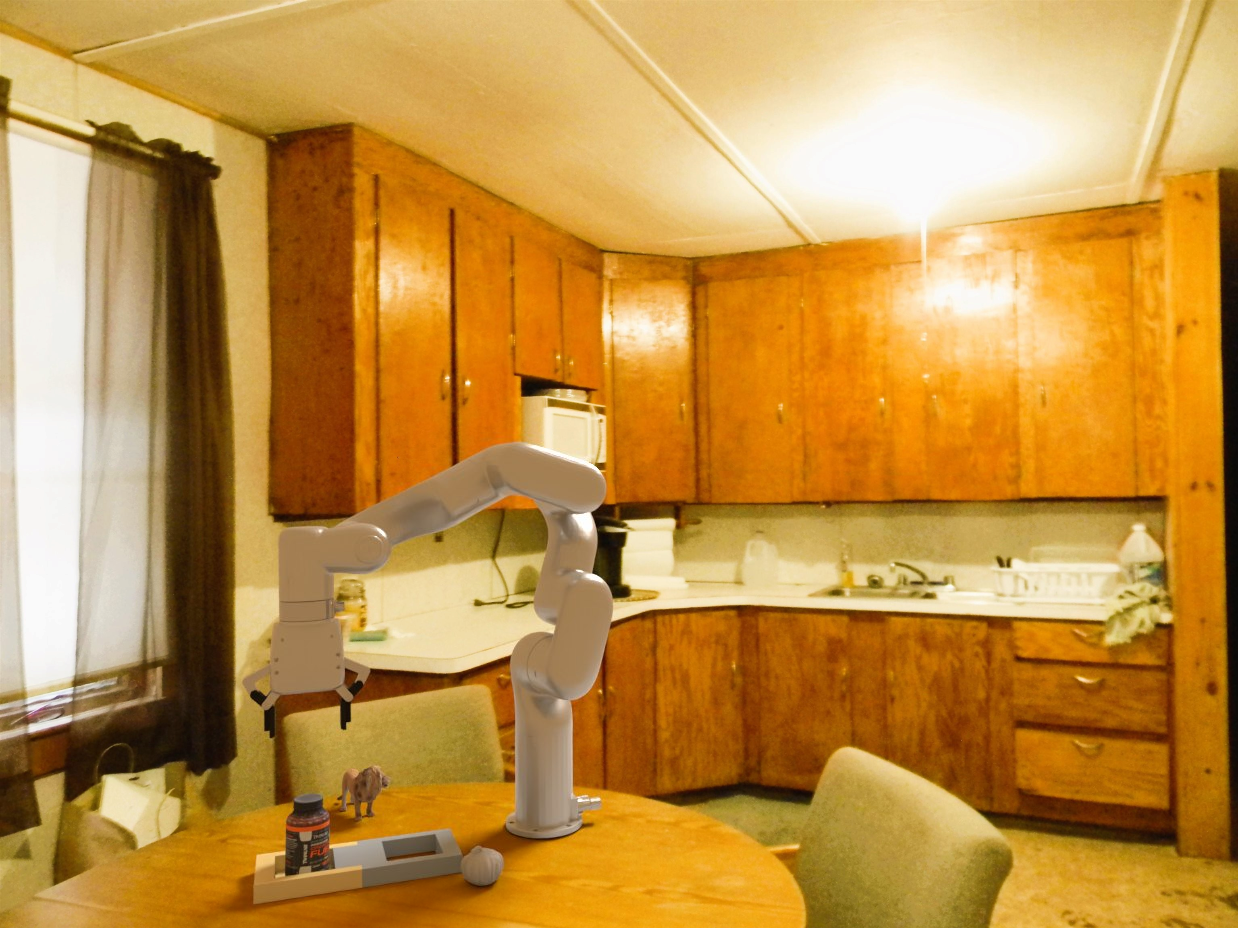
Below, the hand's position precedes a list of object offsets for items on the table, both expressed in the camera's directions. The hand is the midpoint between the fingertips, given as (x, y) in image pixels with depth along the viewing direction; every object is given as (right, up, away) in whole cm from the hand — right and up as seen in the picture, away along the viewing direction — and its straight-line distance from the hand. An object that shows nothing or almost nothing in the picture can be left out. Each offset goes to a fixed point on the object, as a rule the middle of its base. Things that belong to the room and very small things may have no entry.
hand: (308, 731), depth 126 cm
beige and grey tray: (+7, -21, +1) cm, 22 cm away
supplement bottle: (0, -21, -1) cm, 21 cm away
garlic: (+25, -21, -2) cm, 33 cm away
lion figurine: (0, -22, +26) cm, 34 cm away
